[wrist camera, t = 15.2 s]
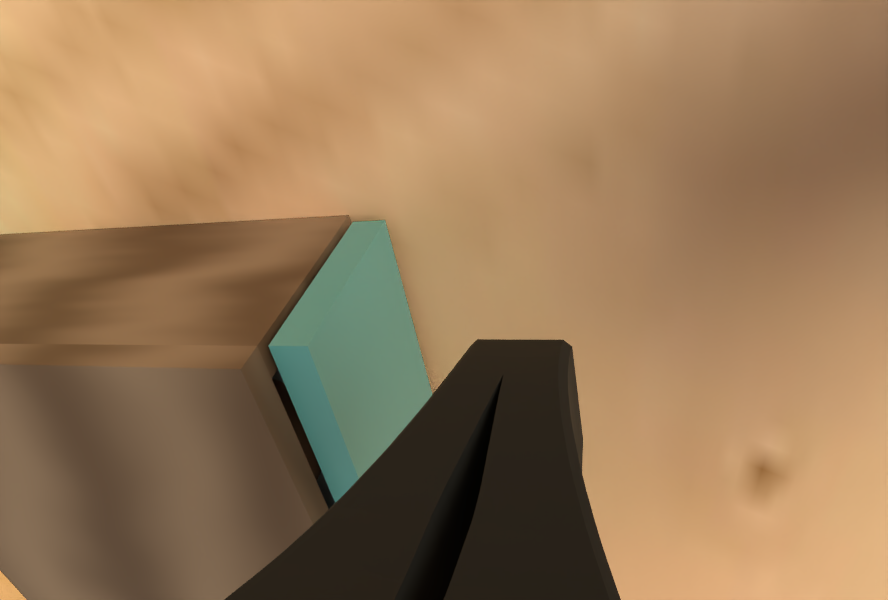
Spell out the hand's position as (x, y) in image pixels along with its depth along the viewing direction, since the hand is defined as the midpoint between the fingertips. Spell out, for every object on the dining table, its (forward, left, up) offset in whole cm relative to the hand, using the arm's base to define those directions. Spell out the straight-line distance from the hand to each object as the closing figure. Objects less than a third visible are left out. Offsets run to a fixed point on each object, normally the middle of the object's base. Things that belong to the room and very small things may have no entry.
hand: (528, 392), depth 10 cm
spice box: (+14, +10, -9) cm, 20 cm away
